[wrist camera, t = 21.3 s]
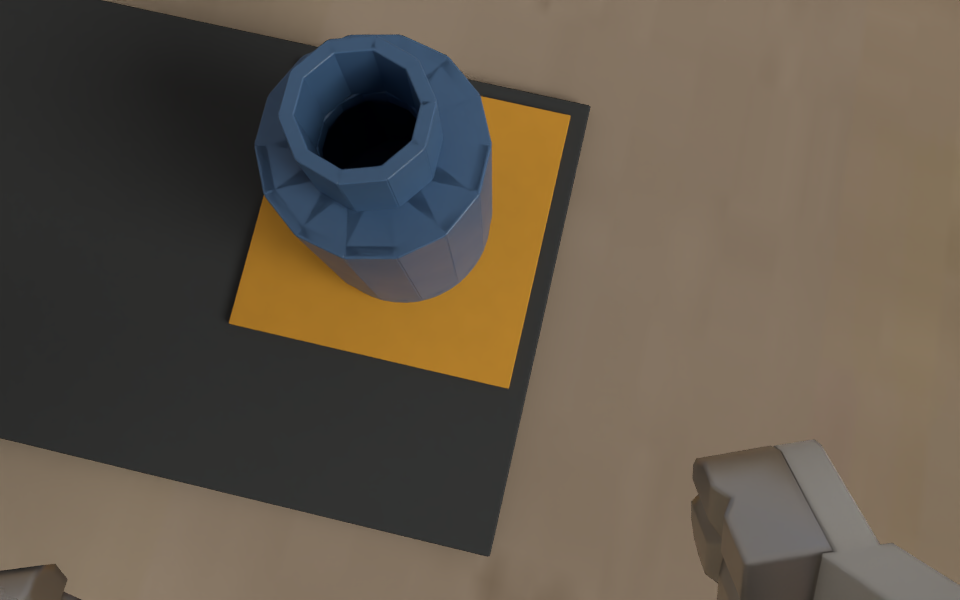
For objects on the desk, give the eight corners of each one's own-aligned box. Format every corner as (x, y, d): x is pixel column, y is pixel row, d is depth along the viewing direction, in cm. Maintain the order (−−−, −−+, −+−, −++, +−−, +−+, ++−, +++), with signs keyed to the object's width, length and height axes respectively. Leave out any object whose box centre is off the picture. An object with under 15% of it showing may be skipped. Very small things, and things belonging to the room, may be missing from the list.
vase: (301, 283, 24) (194, 208, 15) (344, 119, 24) (265, -41, 16) (468, 322, 23) (454, 266, 15) (507, 155, 24) (515, 12, 16)
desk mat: (-196, 388, 24) (-213, 387, 23) (-54, -29, 26) (-66, -40, 25) (489, 555, 23) (489, 558, 22) (589, 110, 25) (591, 102, 24)
